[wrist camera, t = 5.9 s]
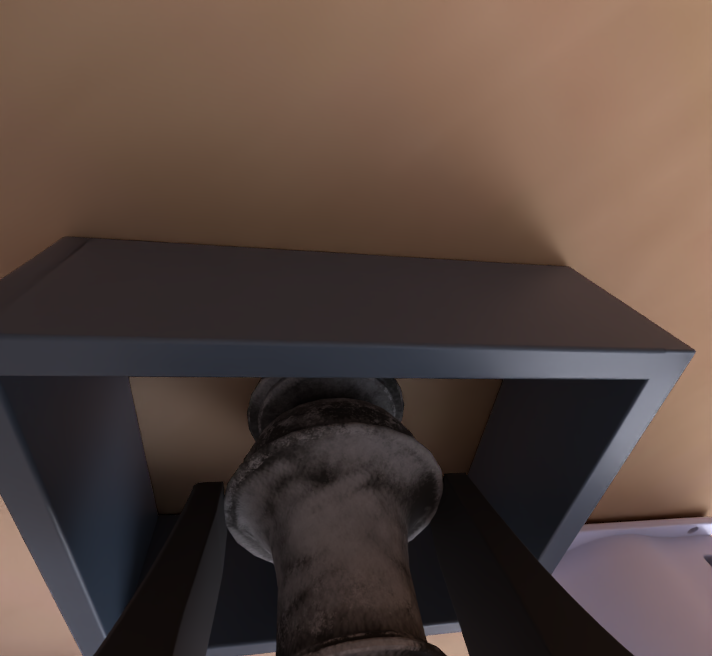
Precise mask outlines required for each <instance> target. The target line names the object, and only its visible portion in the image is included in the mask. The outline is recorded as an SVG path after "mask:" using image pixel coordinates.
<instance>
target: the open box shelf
mask: <svg viewBox="0 0 712 656" xmlns="http://www.w3.org/2000/svg"><path fill="white" fill-rule="evenodd" d="M695 352H696V351H695V350H694V349H693V348H691V347H690V346H688V345H687V344H685V343H683V342H682V341H680V340H679V339H677V338H676V337H674V336H673V335H671V334H670V333H668V332H667V331H665V330H664V329H662V328H661V327H659V326H658V325H656V324H655V323H653V322H652V321H650V320H649V319H647V318H646V317H644V316H643V315H641V314H640V313H638V312H637V311H635V310H634V309H632V308H631V307H629V306H628V305H626V304H625V303H623V302H622V301H620V300H619V299H617V298H616V297H614V296H613V295H611V294H610V293H608V292H607V291H605V290H604V289H602V288H601V287H599V286H598V285H596V284H595V283H593V282H592V281H590V280H589V279H587V278H586V277H584V276H583V275H581V274H580V273H578V272H577V271H575V270H574V269H572V268H571V267H567V266H551V265H547V266H544V265H528V264H511V263H495V262H478V261H462V260H445V259H428V258H412V257H395V256H379V255H362V254H346V253H329V252H313V251H296V250H279V249H263V248H246V247H230V246H213V245H197V244H180V243H164V242H147V241H130V240H114V239H97V238H81V237H63V238H61V239H60V240H59V241H57V242H56V243H54V244H53V245H51V246H50V247H48V248H47V249H45V250H44V251H42V252H41V253H39V254H38V255H36V256H35V257H33V258H32V259H30V260H29V261H27V262H26V263H24V264H23V265H22V266H20V267H19V268H17V269H16V270H14V271H13V272H11V273H10V274H8V275H7V276H5V277H4V278H2V279H1V280H0V494H1V496H2V498H3V500H4V502H5V504H6V506H7V508H8V510H9V512H10V514H11V516H12V518H13V520H14V522H15V524H16V526H17V528H18V530H19V532H20V534H21V536H22V538H23V540H24V541H25V543H26V545H27V547H28V549H29V551H30V553H31V555H32V557H33V559H34V561H35V563H36V565H37V567H38V569H39V571H40V573H41V575H42V577H43V579H44V581H45V583H46V585H47V587H48V588H49V590H50V592H51V594H52V596H53V598H54V600H55V602H56V604H57V606H58V608H59V610H60V612H61V614H62V616H63V618H64V620H65V622H66V624H67V626H68V628H69V630H70V632H71V634H72V635H73V637H74V639H75V641H76V643H77V645H78V647H79V649H80V651H81V653H82V655H83V656H93V655H94V654H95V652H96V651H97V649H98V648H99V647H100V645H101V644H102V642H103V641H104V639H105V638H106V636H107V635H108V634H109V632H110V631H111V629H112V628H113V626H114V625H115V623H116V622H117V620H118V619H119V617H120V616H121V614H122V613H123V611H124V609H125V608H126V606H127V605H128V603H129V602H130V600H131V599H132V597H133V595H134V594H135V592H136V591H137V589H138V588H139V586H140V585H141V583H142V581H143V580H144V578H145V577H146V575H147V573H148V572H149V570H150V568H151V566H152V565H153V563H154V561H155V560H156V558H157V556H158V554H159V553H160V551H161V549H162V548H163V546H164V544H165V542H166V541H167V539H168V537H169V535H170V533H171V531H172V530H173V528H174V526H175V524H176V522H177V520H178V518H179V516H180V514H179V515H159V516H158V513H157V508H156V504H155V499H154V494H153V490H152V485H151V480H150V476H149V471H148V467H147V462H146V457H145V453H144V448H143V443H142V439H141V434H140V430H139V425H138V420H137V416H136V411H135V406H134V402H133V397H132V393H131V388H130V383H129V379H128V377H275V378H429V379H503V382H502V385H501V387H500V390H499V393H498V396H497V398H496V401H495V404H494V406H493V409H492V412H491V414H490V417H489V420H488V422H487V425H486V428H485V430H484V433H483V436H482V438H481V441H480V444H479V446H478V449H477V452H476V454H475V457H474V460H473V462H472V465H471V468H470V470H469V473H468V477H469V478H470V479H471V480H472V482H473V483H474V484H475V485H476V487H477V488H478V489H479V490H480V492H481V493H482V494H483V496H484V497H485V498H486V499H487V501H488V502H489V503H490V504H491V506H492V507H493V508H494V509H495V510H496V512H497V513H498V514H499V515H500V517H501V518H502V519H503V520H504V521H505V523H506V524H507V525H508V526H509V527H510V529H511V530H512V531H513V532H514V533H515V535H516V536H517V537H518V538H519V539H520V540H521V542H522V543H523V544H524V545H525V546H526V547H527V549H528V550H529V551H530V552H531V553H532V554H533V555H534V557H535V558H536V559H537V560H538V561H539V562H540V563H541V564H542V566H543V567H544V568H545V569H546V570H547V571H548V572H549V573H550V574H551V575H552V573H553V571H554V570H555V568H556V567H557V565H558V564H559V562H560V561H561V559H562V558H563V556H564V555H565V553H566V551H567V550H568V548H569V547H570V545H571V544H572V542H573V541H574V539H575V538H576V536H577V535H578V533H579V531H580V530H581V528H582V527H583V525H584V524H585V522H586V521H587V519H588V518H589V516H590V514H591V513H592V511H593V510H594V508H595V507H596V505H597V504H598V502H599V501H600V499H601V498H602V496H603V494H604V493H605V491H606V490H607V488H608V487H609V485H610V484H611V482H612V481H613V479H614V478H615V476H616V474H617V473H618V471H619V470H620V468H621V467H622V465H623V464H624V462H625V461H626V459H627V458H628V456H629V454H630V453H631V451H632V450H633V448H634V447H635V445H636V444H637V442H638V441H639V439H640V438H641V436H642V434H643V433H644V431H645V430H646V428H647V427H648V425H649V424H650V422H651V421H652V419H653V417H654V416H655V414H656V413H657V411H658V410H659V408H660V407H661V405H662V404H663V402H664V401H665V399H666V397H667V396H668V394H669V393H670V391H671V390H672V388H673V387H674V385H675V384H676V382H677V381H678V379H679V377H680V376H681V374H682V373H683V371H684V370H685V368H686V367H687V365H688V364H689V362H690V361H691V359H692V357H693V356H694V354H695ZM408 556H409V569H410V573H411V577H412V582H413V586H414V590H415V594H416V598H417V603H418V607H419V611H420V615H421V619H422V623H423V628H424V632H425V636H427V635H436V634H445V633H455V632H462V631H461V628H460V625H459V622H458V619H457V616H456V613H455V610H454V607H453V604H452V601H451V598H450V595H449V592H448V589H447V586H446V583H445V580H444V577H443V574H442V571H441V568H440V565H439V561H438V558H437V554H436V549H435V545H434V540H433V535H432V530H431V526H430V523H429V524H428V526H426V527H425V528H424V529H423V530H422V531H421V532H420V533H419V534H418V535H417V536H416V537H415V538H414V539H413V540H411V541H409V542H408ZM277 601H278V585H277V578H276V572H275V567H274V564H273V563H271V562H269V561H266V560H264V559H261V558H259V557H257V556H254V555H253V554H252V553H250V552H249V551H248V550H246V549H245V548H244V547H242V546H241V545H240V544H238V543H237V542H236V540H235V539H234V537H233V536H232V534H231V533H230V531H229V530H228V528H227V539H226V548H225V557H224V566H223V574H222V580H221V585H220V590H219V594H218V599H217V604H216V609H215V614H214V619H213V624H212V628H211V633H210V638H209V643H208V648H207V653H206V656H243V655H253V654H262V653H271V652H276V634H277Z"/></svg>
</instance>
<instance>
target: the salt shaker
mask: <svg viewBox="0 0 712 656" xmlns="http://www.w3.org/2000/svg"><path fill="white" fill-rule="evenodd" d="M403 410H404V401H403V396H402V391H401V388H400V386H399V385H398V383H397V381H396V380H395V378H275V377H263V378H262V379H261V381H260V382H259V384H258V385H257V387H256V388H255V390H254V392H253V393H252V395H251V399H250V403H249V407H248V411H247V416H248V424H249V430H250V432H251V434H252V436H253V438H254V439H255V441H256V442H255V443H254V445H253V446H252V448H251V449H250V451H249V452H248V454H247V455H246V457H245V458H244V460H243V463H242V464H241V465H240V466H239V468H238V469H237V470H236V472H235V473H234V475H233V476H232V478H231V479H230V481H229V482H228V484H227V487H226V492H225V496H224V514H225V523H226V527H227V528H228V530H229V531H230V533H231V534H232V536H233V537H234V539H235V540H236V542H237V543H238V544H240V545H241V546H242V547H244V548H245V549H246V550H248V551H249V552H250V553H252V554H253V555H254V556H257V557H259V558H261V559H264V560H266V561H269V562H271V563H273V564H274V567H275V572H276V578H277V585H278V601H277V634H276V656H447V655H445V654H444V653H443V652H442V651H441V650H440V649H439V648H438V647H437V646H435V645H432V644H430V643H428V642H427V640H426V636H425V632H424V628H423V623H422V619H421V615H420V611H419V607H418V603H417V598H416V594H415V590H414V586H413V582H412V577H411V573H410V569H409V556H408V542H409V541H411V540H413V539H414V538H415V537H416V536H417V535H418V534H419V533H420V532H421V531H422V530H423V529H424V528H425V527H426V526H428V524H429V523H430V521H431V520H432V518H433V517H434V515H435V513H436V511H437V508H438V505H439V502H440V499H441V496H442V493H443V487H444V483H443V477H442V470H441V468H440V466H439V464H438V463H437V461H436V460H435V458H434V456H433V455H432V453H431V452H430V450H428V449H427V448H426V447H424V446H423V445H422V444H421V443H419V442H418V441H417V440H416V439H415V438H414V436H413V435H412V433H411V432H410V431H409V430H408V429H407V428H406V427H405V426H404V425H403V424H402V423H401V421H402V416H403Z"/></svg>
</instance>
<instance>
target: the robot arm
mask: <svg viewBox="0 0 712 656" xmlns="http://www.w3.org/2000/svg"><path fill="white" fill-rule="evenodd" d="M443 483H444V487H443V493H442V496H441V499H440V502H439V505H438V508H437V511H436V513H435V515H434V517H433V518H432V520H431V521H430V526H431V530H432V535H433V540H434V545H435V549H436V554H437V558H438V561H439V565H440V568H441V571H442V574H443V577H444V580H445V583H446V586H447V589H448V592H449V595H450V598H451V601H452V604H453V607H454V610H455V613H456V616H457V619H458V622H459V625H460V628H461V631H462V634H463V637H464V640H465V643H466V646H467V649H468V652H469V656H712V537H711V536H710V535H711V534H712V517H692V518H676V519H660V520H645V521H629V522H613V523H597V524H584V525H583V527H582V528H581V530H580V531H579V533H578V535H577V536H576V538H575V539H574V541H573V542H572V544H571V545H570V547H569V548H568V550H567V551H566V553H565V555H564V556H563V558H562V559H561V561H560V562H559V564H558V565H557V567H556V568H555V570H554V571H553V573H552V575H551V574H550V573H549V572H548V571H547V570H546V569H545V568H544V567H543V566H542V564H541V563H540V562H539V561H538V560H537V559H536V558H535V557H534V555H533V554H532V553H531V552H530V551H529V550H528V549H527V547H526V546H525V545H524V544H523V543H522V542H521V540H520V539H519V538H518V537H517V536H516V535H515V533H514V532H513V531H512V530H511V529H510V527H509V526H508V525H507V524H506V523H505V521H504V520H503V519H502V518H501V517H500V515H499V514H498V513H497V512H496V510H495V509H494V508H493V507H492V506H491V504H490V503H489V502H488V501H487V499H486V498H485V497H484V496H483V494H482V493H481V492H480V490H479V489H478V488H477V487H476V485H475V484H474V483H473V482H472V480H471V479H470V478H469V477H468V476H467V474H466V473H450V474H444V477H443ZM224 496H225V495H224V483H223V482H201V483H197V484H196V485H194V486H193V489H192V491H191V493H190V496H189V498H188V500H187V502H186V504H185V506H184V508H183V510H182V512H181V514H180V516H179V518H178V520H177V522H176V524H175V526H174V528H173V530H172V531H171V533H170V535H169V537H168V539H167V541H166V542H165V544H164V546H163V548H162V549H161V551H160V553H159V554H158V556H157V558H156V560H155V561H154V563H153V565H152V566H151V568H150V570H149V572H148V573H147V575H146V577H145V578H144V580H143V581H142V583H141V585H140V586H139V588H138V589H137V591H136V592H135V594H134V595H133V597H132V599H131V600H130V602H129V603H128V605H127V606H126V608H125V609H124V611H123V613H122V614H121V616H120V617H119V619H118V620H117V622H116V623H115V625H114V626H113V628H112V629H111V631H110V632H109V634H108V635H107V636H106V638H105V639H104V641H103V642H102V644H101V645H100V647H99V648H98V649H97V651H96V652H95V654H94V655H93V656H206V653H207V648H208V643H209V638H210V633H211V628H212V624H213V619H214V614H215V609H216V604H217V599H218V594H219V590H220V585H221V580H222V574H223V566H224V557H225V548H226V539H227V527H226V523H225V514H224Z"/></svg>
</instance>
